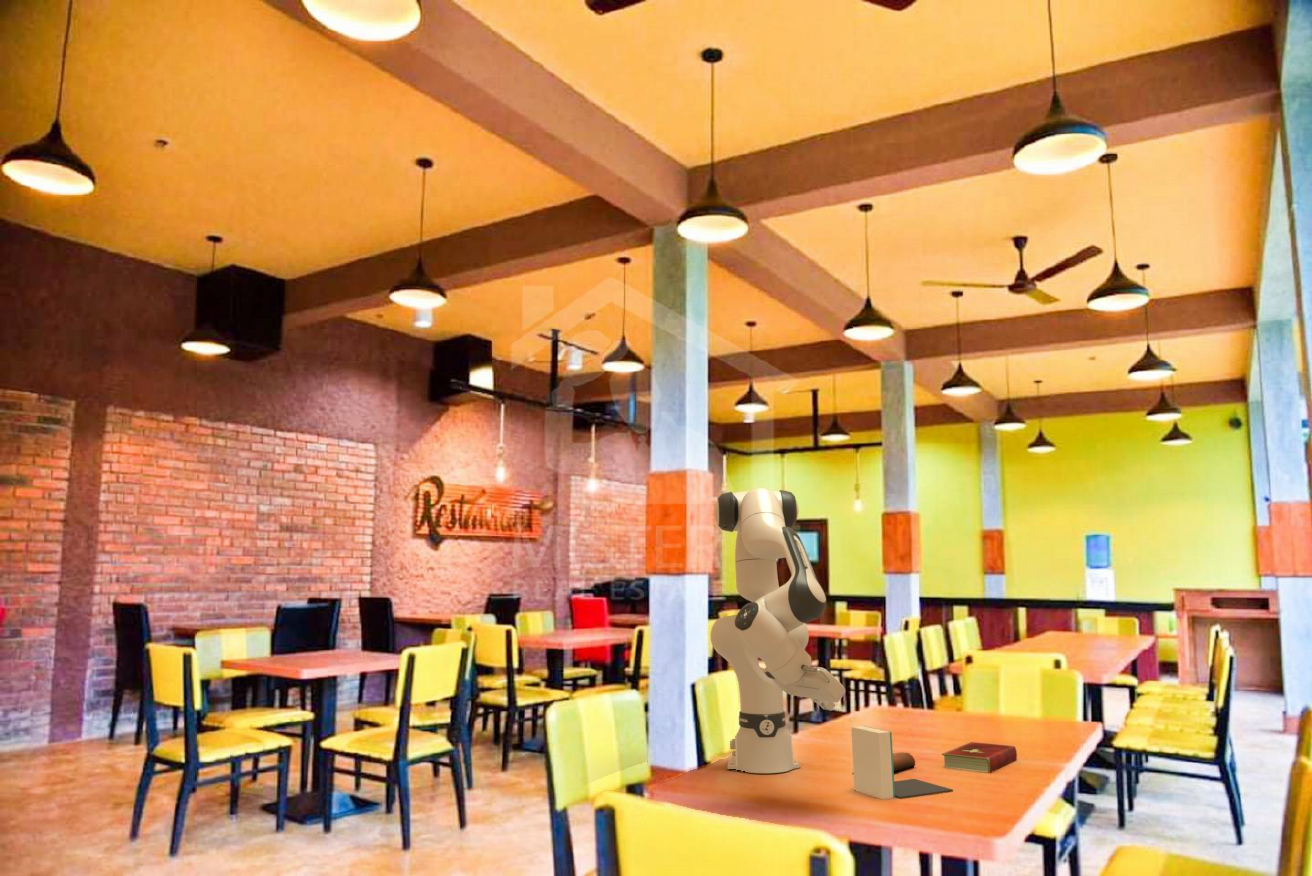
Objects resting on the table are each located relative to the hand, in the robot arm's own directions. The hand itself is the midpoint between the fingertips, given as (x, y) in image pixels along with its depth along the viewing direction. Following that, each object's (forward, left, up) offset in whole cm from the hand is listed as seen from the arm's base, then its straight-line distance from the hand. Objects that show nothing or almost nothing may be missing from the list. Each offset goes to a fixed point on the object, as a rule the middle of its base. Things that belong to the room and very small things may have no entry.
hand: (830, 707), depth 202 cm
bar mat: (-7, +19, -19) cm, 28 cm away
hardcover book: (-33, +48, -20) cm, 62 cm away
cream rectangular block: (-4, +10, -20) cm, 22 cm away
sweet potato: (-28, +21, -20) cm, 40 cm away
